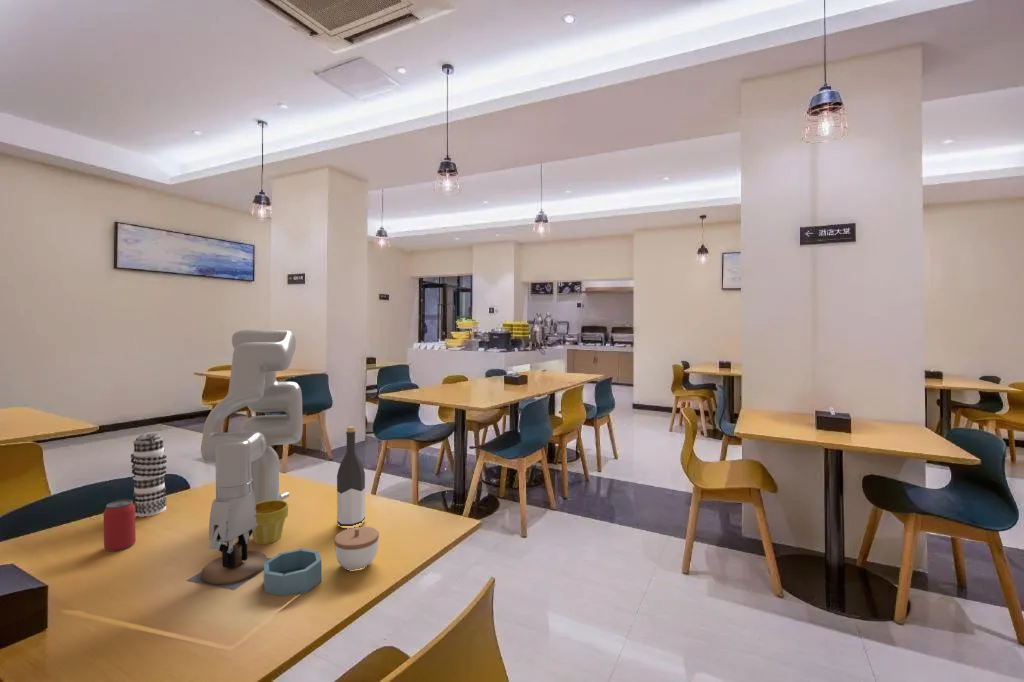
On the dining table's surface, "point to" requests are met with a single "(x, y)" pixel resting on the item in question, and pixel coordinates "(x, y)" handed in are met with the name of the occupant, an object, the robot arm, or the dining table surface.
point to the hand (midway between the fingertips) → (235, 562)
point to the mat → (229, 586)
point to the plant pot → (269, 521)
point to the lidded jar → (356, 547)
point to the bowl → (292, 572)
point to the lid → (241, 571)
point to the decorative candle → (149, 475)
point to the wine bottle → (350, 486)
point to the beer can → (119, 525)
